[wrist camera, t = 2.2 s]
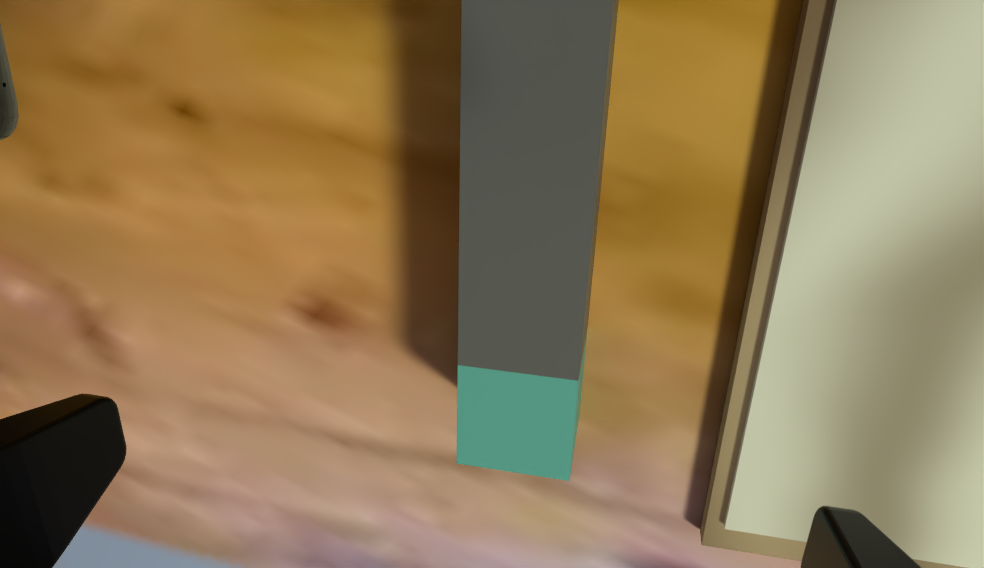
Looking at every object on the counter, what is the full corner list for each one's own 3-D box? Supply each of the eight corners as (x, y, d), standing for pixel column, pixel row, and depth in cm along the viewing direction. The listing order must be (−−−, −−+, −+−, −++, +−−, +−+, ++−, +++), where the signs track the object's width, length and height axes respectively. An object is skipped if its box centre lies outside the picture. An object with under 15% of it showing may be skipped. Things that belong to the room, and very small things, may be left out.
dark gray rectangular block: (620, -26, 16) (616, -31, 13) (579, 416, 20) (569, 481, 18) (492, -30, 16) (461, -35, 13) (480, 402, 21) (456, 463, 18)
